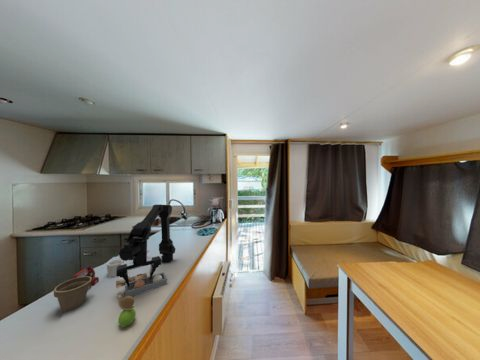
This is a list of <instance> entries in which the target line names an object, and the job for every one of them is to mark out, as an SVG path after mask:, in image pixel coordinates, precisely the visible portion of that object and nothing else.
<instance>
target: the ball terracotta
mask: <svg viewBox="0 0 480 360" xmlns="http://www.w3.org/2000/svg"><path fill="white" fill-rule="evenodd" d="M145 285H146V284H145V282H144V280H138V281H137V282H136V283H135V285H134V287H133V289H136V288H139V287H142V286H145Z"/></svg>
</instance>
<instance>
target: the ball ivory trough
mask: <svg viewBox="0 0 480 360" xmlns="http://www.w3.org/2000/svg"><path fill="white" fill-rule="evenodd" d="M157 274H158V275H156V274H155V275H156V276H154V278H153V281H152V283H154V282H157V281H160V280H163V279H162V276H161V275H159V273H157Z"/></svg>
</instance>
